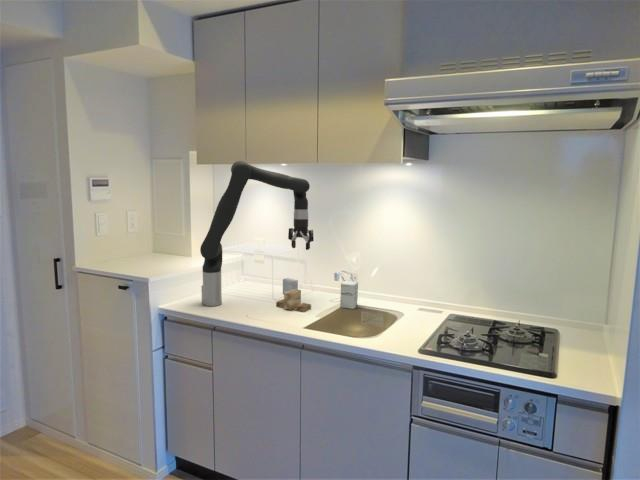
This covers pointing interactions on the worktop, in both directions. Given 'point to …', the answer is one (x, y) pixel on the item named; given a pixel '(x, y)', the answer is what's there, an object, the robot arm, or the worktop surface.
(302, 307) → the notched beam
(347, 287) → the supplement box
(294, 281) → the medicine box
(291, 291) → the oak crosspiece
